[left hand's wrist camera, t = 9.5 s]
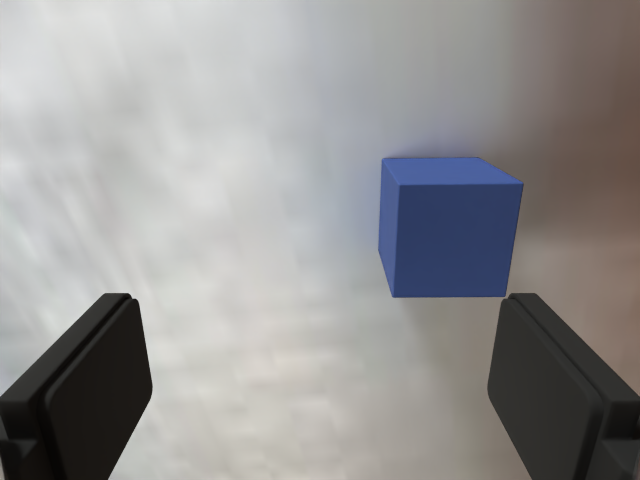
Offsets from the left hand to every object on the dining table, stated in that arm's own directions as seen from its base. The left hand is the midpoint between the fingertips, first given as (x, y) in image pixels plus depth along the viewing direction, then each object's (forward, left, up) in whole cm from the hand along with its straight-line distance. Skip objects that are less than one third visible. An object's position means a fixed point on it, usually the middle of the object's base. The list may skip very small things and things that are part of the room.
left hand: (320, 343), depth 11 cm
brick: (0, -5, -9) cm, 10 cm away
